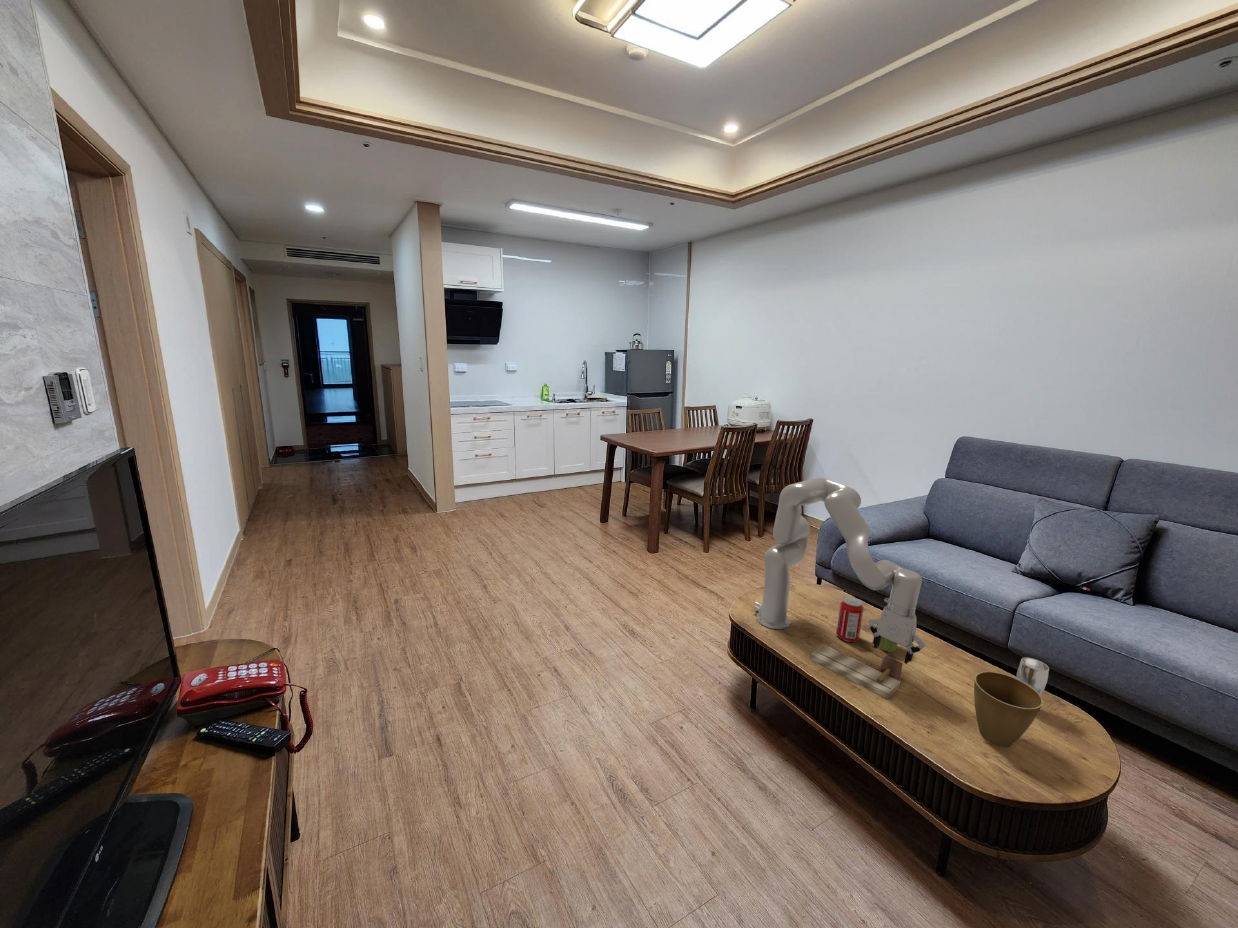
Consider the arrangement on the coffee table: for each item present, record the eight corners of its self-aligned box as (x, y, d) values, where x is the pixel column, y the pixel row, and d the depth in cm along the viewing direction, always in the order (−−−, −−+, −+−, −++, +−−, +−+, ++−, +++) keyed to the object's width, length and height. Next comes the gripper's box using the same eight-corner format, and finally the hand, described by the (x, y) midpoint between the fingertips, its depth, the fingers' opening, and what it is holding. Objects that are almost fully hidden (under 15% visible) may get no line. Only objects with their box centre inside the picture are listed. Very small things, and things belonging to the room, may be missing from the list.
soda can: (847, 645, 181) (853, 608, 178) (831, 633, 188) (836, 597, 185) (863, 641, 184) (869, 604, 181) (846, 629, 191) (852, 594, 188)
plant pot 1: (906, 652, 178) (910, 630, 176) (887, 657, 175) (891, 635, 173) (884, 637, 187) (888, 617, 185) (865, 642, 183) (869, 621, 181)
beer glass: (1004, 702, 154) (1014, 659, 150) (1019, 697, 156) (1029, 655, 153) (1029, 717, 147) (1040, 673, 144) (1044, 712, 150) (1055, 668, 146)
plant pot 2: (952, 727, 143) (962, 678, 139) (984, 712, 149) (995, 666, 145) (1009, 766, 130) (1022, 714, 126) (1042, 749, 136) (1055, 698, 132)
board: (809, 658, 173) (810, 653, 172) (822, 649, 179) (823, 643, 178) (887, 699, 154) (888, 693, 153) (899, 686, 159) (900, 681, 159)
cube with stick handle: (869, 684, 160) (872, 668, 159) (884, 671, 167) (886, 655, 166) (885, 693, 157) (888, 676, 155) (900, 678, 164) (902, 662, 162)
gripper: (868, 599, 162) (859, 645, 167) (926, 624, 150) (915, 672, 154) (878, 592, 167) (869, 637, 172) (935, 616, 155) (924, 663, 159)
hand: (891, 654), depth 163 cm, fingers open, 9 cm apart
